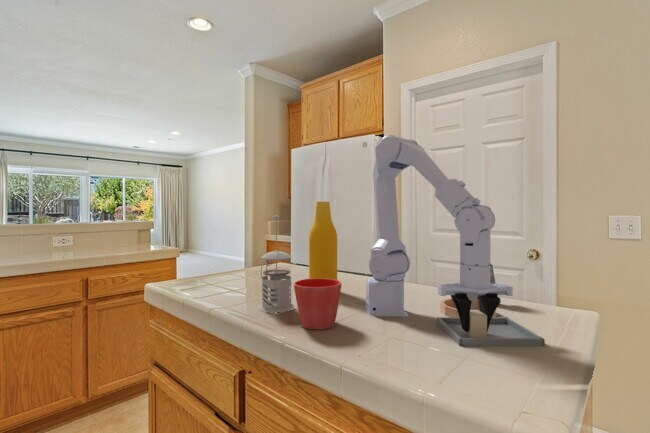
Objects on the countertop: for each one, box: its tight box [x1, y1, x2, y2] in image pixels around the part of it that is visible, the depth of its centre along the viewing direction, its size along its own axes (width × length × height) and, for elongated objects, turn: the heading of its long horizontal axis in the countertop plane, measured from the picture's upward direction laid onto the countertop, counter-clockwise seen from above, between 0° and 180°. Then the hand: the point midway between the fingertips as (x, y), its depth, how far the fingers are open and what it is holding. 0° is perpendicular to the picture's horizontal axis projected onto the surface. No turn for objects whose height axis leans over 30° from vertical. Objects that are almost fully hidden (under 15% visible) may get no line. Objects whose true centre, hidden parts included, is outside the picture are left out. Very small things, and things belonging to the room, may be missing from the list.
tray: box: [436, 316, 546, 347], centre depth 70 cm, size 16×13×2 cm
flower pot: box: [293, 278, 343, 330], centre depth 77 cm, size 11×11×10 cm
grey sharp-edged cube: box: [456, 295, 477, 310], centre depth 85 cm, size 4×3×4 cm
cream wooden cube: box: [463, 310, 487, 338], centre depth 69 cm, size 4×3×4 cm
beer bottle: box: [308, 201, 338, 280], centre depth 108 cm, size 9×9×29 cm
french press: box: [258, 214, 295, 314], centre depth 91 cm, size 10×12×25 cm
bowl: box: [439, 297, 497, 317], centre depth 83 cm, size 12×12×3 cm
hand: (474, 330), depth 69 cm, fingers closed on cream wooden cube, 3 cm apart
